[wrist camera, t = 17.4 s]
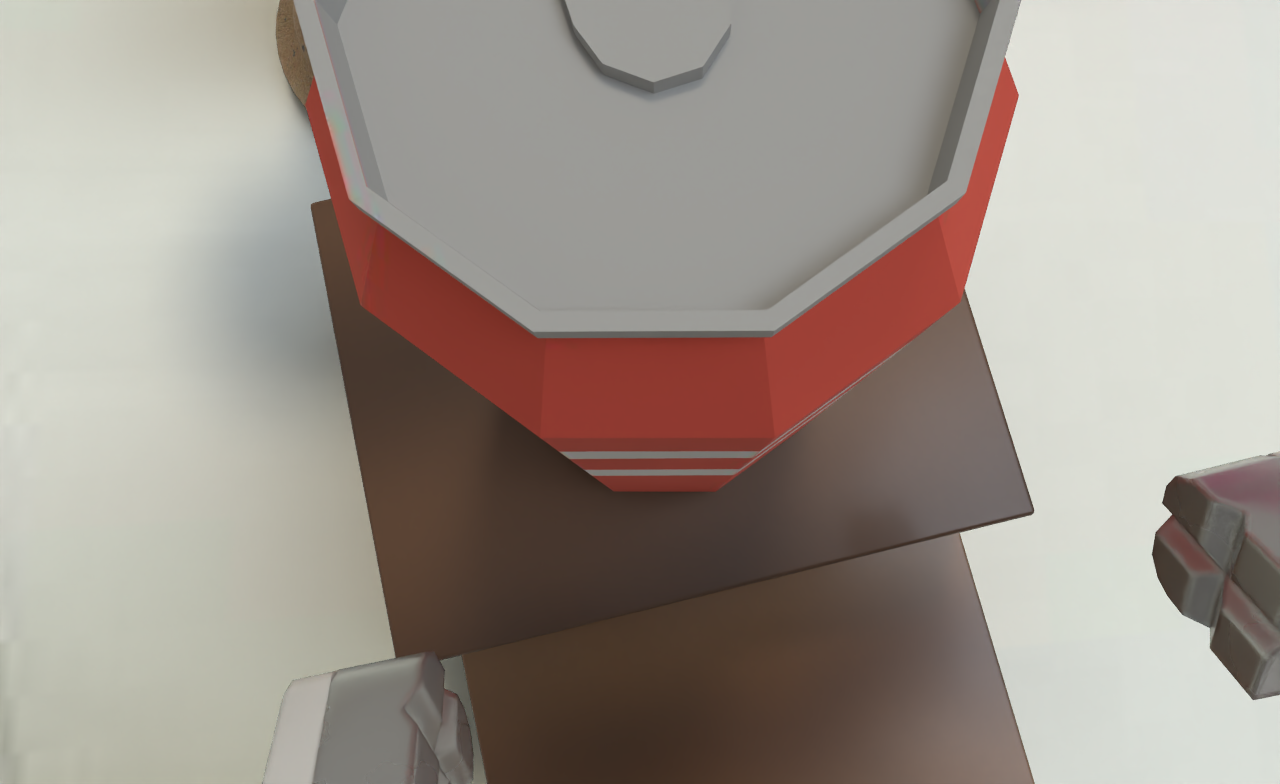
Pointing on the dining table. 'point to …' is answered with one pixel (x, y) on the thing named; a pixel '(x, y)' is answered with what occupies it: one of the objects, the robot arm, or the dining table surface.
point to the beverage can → (660, 203)
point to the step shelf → (698, 577)
